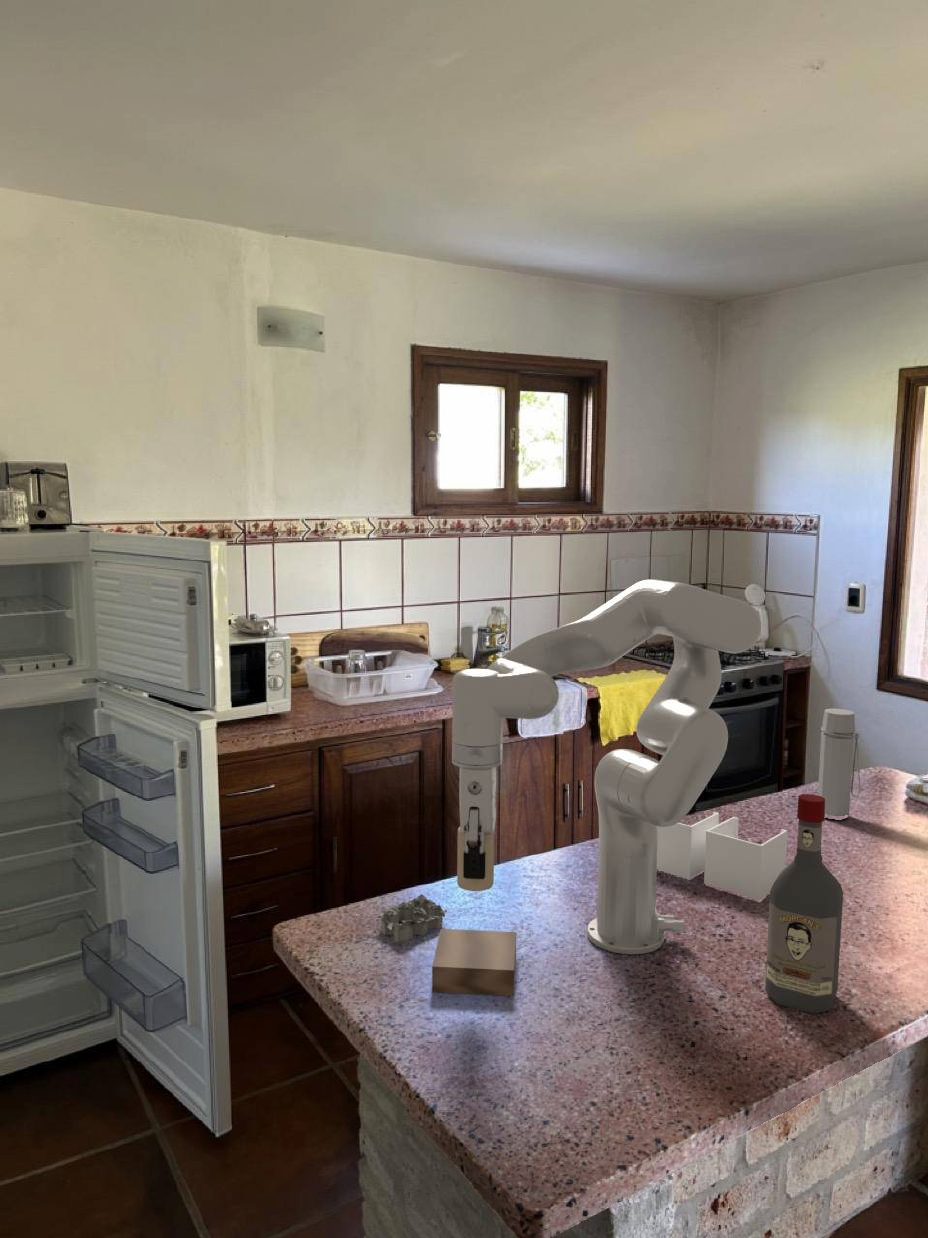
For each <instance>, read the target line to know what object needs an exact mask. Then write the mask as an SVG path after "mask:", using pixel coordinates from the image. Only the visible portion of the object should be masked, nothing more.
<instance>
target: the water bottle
mask: <svg viewBox="0 0 928 1238" xmlns="http://www.w3.org/2000/svg"><path fill="white" fill-rule="evenodd" d="M855 716H856V715H855V711H852V710H850V709H844V708H826V709H824V712H823V717H822V718H823V719H822V723H821V727H820V730H821V731H820V732H821V735H820V751H819V753H820V754H819V768H818V769H819V770H818V784H817V785H818V788H817V795H818V796H821V797H823V798H825V814H827V815H833V816H845V815H849V816H850V808H851V796H852V797H853V798H856V799H857V798H858V799H859V796H860V793H861V778H860V762H859V759H860V758H859V748H858V746H859V745H858V740H859V737H860V733H858V732H856V721H855V719H856V717H855ZM854 739H855V740H854ZM854 741H855V743H854ZM854 746H855V747H854ZM856 759H857V776H858V777H857V778H858V779H857V781H858V789H857V794H856V795H854V793H853V791H854V790H853V789H854V780H855V779H854V777H855V766H856Z"/></svg>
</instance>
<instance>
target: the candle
mask: <svg viewBox="0 0 928 1238" xmlns="http://www.w3.org/2000/svg"><path fill="white" fill-rule="evenodd" d="M468 831H469V829H468ZM478 832H482V828H478ZM484 833H485V832H484ZM478 840H480V836H478ZM464 851H465V834H464V833H463V832H462V831H461V827H460V826H459V827H458V828H457V858H456V859H457V862H456V863H457V865H456V868H457V869H456V871H457V872H456V873H457V874H456V876H457V877H456V880H457V881H456V882H457V886H458V887H459V888H460V889H462V890H463V891H464V890H465V891H468V892H483V891H487V890H490V889H491V888H493V886H494V879H495V878H494V874H495V872H494V871H495V831H494V832H493V833H492V834H491V835H489V833H485V835H484V852H486V855H485V878H484V879H466V878H464V877H463V860H464Z"/></svg>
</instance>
